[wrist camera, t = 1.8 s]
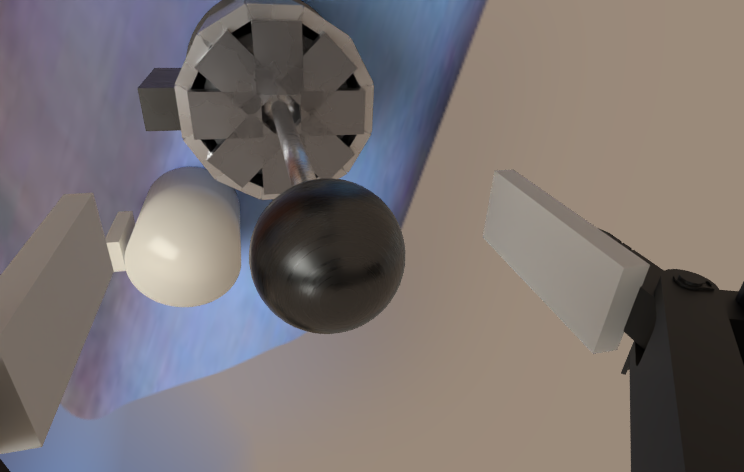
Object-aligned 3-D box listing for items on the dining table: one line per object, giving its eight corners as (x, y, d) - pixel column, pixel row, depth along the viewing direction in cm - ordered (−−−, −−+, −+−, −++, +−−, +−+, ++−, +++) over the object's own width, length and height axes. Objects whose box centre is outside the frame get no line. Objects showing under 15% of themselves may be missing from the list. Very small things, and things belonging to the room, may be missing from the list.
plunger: (194, 26, 25) (112, 135, 8) (348, 30, 27) (534, 124, 10) (213, 175, 29) (184, 448, 12) (346, 168, 31) (476, 395, 15)
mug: (117, 169, 37) (87, 220, 29) (235, 164, 39) (235, 210, 32) (136, 251, 41) (113, 315, 33) (243, 242, 43) (245, 300, 35)
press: (149, -16, 32) (111, -10, 22) (344, -8, 35) (388, 1, 25) (177, 153, 38) (157, 218, 28) (342, 147, 41) (377, 203, 31)
